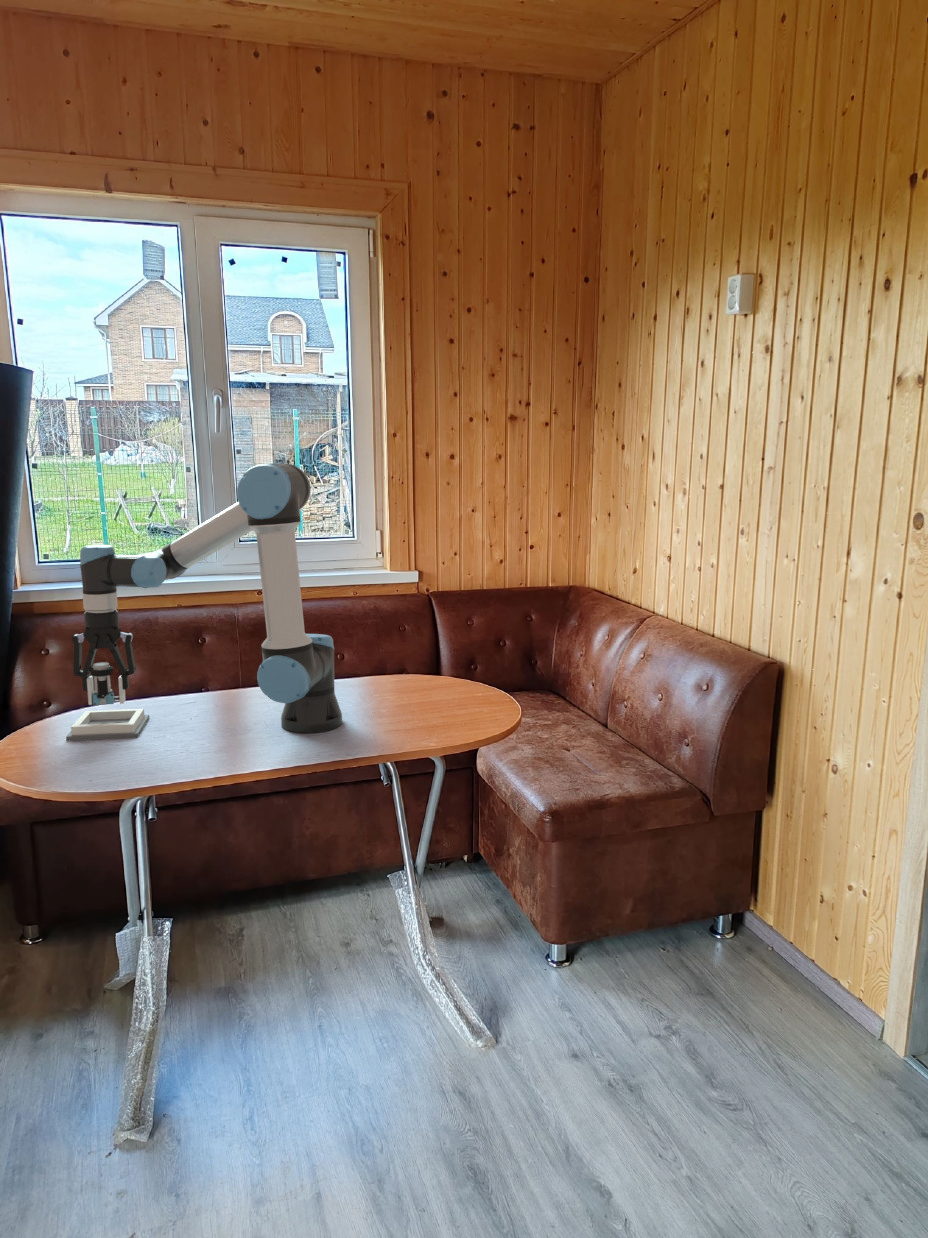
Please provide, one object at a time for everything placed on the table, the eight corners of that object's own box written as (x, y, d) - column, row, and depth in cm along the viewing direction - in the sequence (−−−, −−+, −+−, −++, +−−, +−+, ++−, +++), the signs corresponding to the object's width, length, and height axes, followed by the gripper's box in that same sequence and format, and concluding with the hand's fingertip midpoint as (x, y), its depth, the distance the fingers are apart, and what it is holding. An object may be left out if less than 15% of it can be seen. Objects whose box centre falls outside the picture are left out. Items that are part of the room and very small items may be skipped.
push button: (122, 699, 210) (119, 660, 208) (120, 705, 205) (118, 665, 203) (93, 701, 208) (90, 662, 206) (91, 707, 203) (88, 667, 201)
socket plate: (149, 718, 216) (148, 707, 216) (137, 737, 202) (136, 725, 201) (83, 721, 214) (82, 709, 213) (66, 740, 199) (65, 728, 199)
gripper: (146, 606, 207) (151, 697, 212) (62, 607, 204) (69, 699, 208) (140, 612, 200) (146, 705, 204) (52, 613, 197) (60, 708, 201)
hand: (107, 702), depth 206 cm, fingers closed on push button, 6 cm apart
